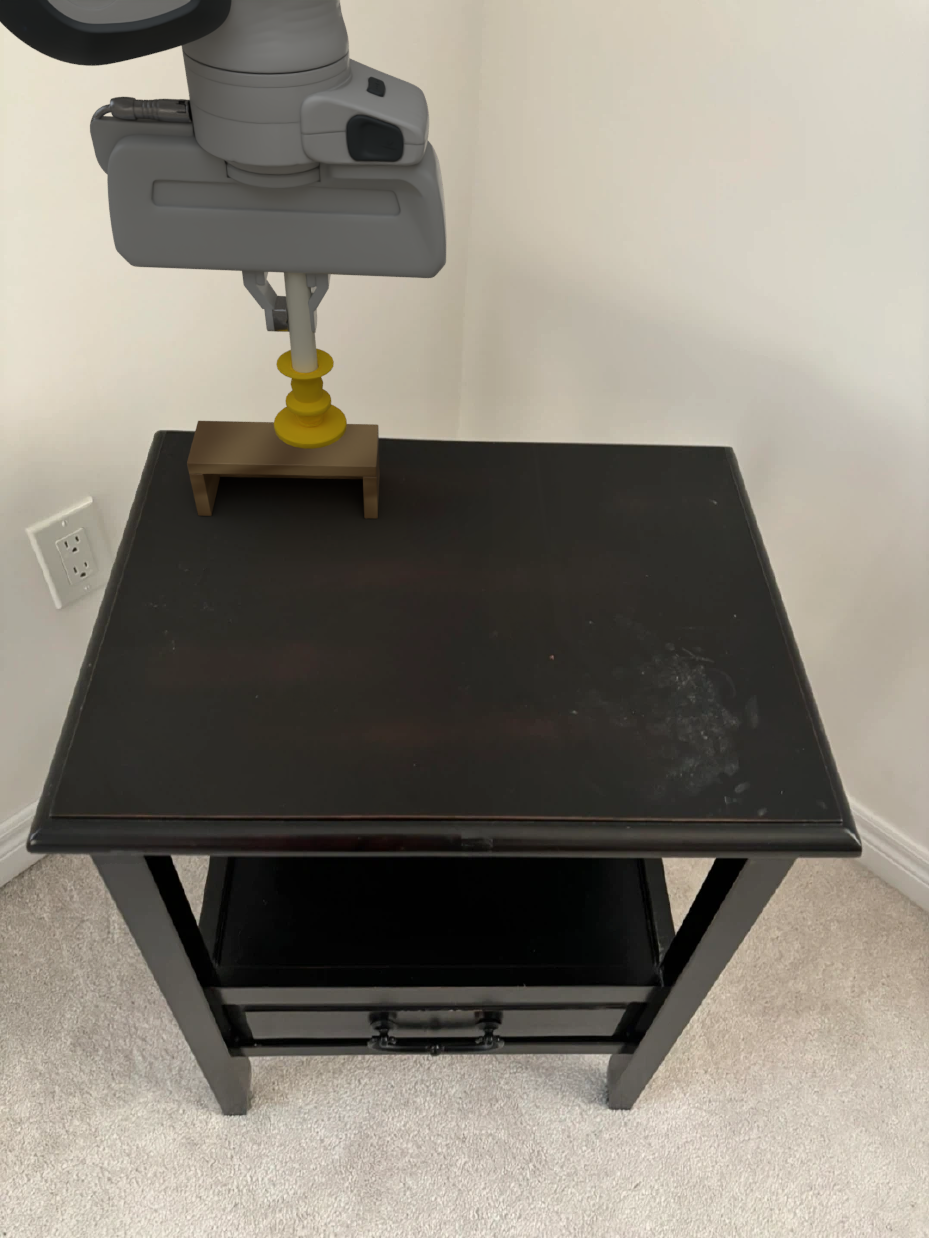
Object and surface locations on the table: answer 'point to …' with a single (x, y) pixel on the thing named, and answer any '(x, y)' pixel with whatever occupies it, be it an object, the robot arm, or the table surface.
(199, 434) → the shelf
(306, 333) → the candle
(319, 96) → the robot arm
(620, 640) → the table surface
